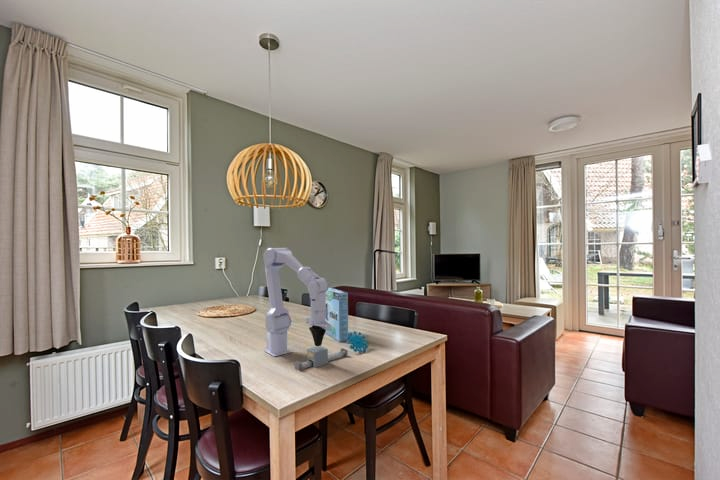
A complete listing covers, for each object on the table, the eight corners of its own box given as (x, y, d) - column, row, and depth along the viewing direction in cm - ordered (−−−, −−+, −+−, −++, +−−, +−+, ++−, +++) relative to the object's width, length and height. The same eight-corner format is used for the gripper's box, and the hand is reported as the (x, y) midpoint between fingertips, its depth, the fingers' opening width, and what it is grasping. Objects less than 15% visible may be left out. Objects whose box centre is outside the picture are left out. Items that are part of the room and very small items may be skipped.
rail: (294, 368, 117) (294, 361, 117) (342, 354, 131) (342, 348, 131) (299, 370, 114) (299, 364, 114) (347, 356, 129) (347, 350, 129)
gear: (351, 351, 129) (345, 330, 136) (345, 359, 133) (339, 337, 139) (374, 351, 135) (367, 330, 142) (367, 357, 138) (361, 337, 145)
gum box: (348, 340, 149) (348, 292, 149) (338, 342, 147) (338, 293, 147) (332, 330, 166) (332, 287, 167) (323, 332, 164) (323, 287, 164)
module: (307, 363, 121) (307, 349, 121) (320, 359, 125) (320, 345, 125) (314, 367, 117) (314, 352, 117) (327, 363, 121) (327, 349, 121)
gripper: (299, 308, 124) (299, 343, 124) (320, 314, 114) (320, 352, 113) (314, 306, 129) (314, 339, 129) (335, 311, 118) (335, 348, 118)
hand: (318, 345), depth 122 cm, fingers closed
